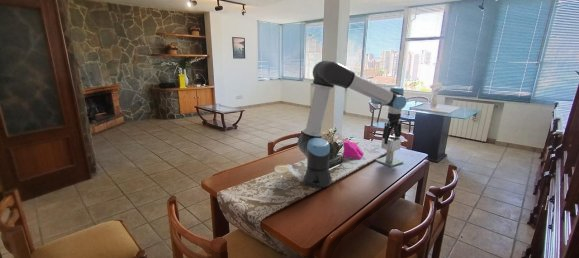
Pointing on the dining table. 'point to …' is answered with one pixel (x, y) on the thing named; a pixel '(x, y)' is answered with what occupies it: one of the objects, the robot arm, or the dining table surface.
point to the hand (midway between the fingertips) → (390, 147)
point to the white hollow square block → (392, 143)
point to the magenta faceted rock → (352, 150)
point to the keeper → (389, 160)
